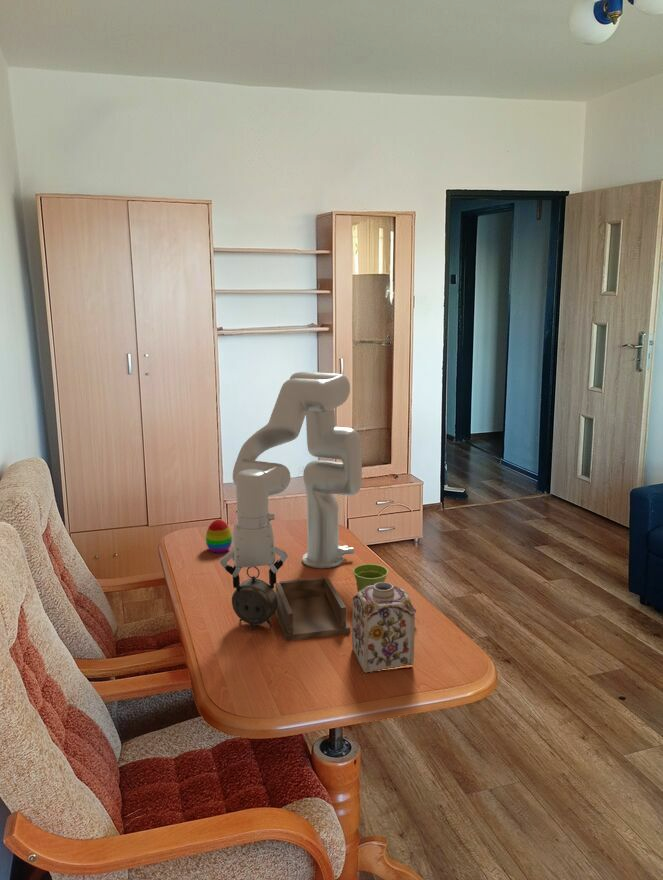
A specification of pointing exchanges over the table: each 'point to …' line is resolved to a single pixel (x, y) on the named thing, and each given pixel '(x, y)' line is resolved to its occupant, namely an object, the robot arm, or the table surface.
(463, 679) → the table surface
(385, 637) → the decorative jar
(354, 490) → the robot arm
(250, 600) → the alarm clock
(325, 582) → the wooden tray
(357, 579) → the plant pot
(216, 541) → the decorative egg
